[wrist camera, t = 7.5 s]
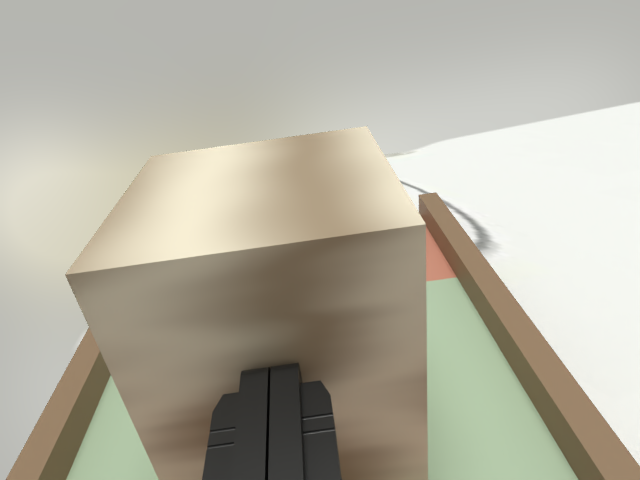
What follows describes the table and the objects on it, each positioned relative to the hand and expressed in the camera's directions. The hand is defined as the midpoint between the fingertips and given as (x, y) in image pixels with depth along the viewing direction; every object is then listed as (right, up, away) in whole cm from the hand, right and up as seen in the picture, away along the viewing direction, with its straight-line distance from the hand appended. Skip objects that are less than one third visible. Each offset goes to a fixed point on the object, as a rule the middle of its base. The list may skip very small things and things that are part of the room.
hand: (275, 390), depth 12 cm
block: (+1, -4, +7) cm, 8 cm away
